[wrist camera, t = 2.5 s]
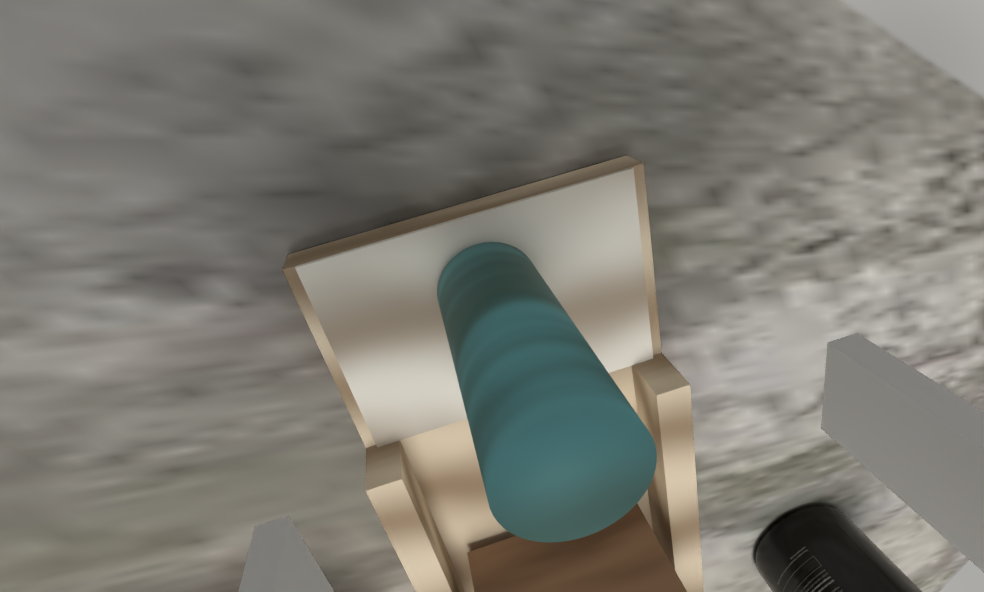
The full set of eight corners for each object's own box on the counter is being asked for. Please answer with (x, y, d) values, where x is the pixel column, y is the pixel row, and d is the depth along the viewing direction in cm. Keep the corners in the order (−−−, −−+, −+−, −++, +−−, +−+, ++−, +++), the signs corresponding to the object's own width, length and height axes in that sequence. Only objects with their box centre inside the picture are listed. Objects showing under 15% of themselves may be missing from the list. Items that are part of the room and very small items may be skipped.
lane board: (287, 254, 21) (256, 340, 15) (626, 155, 22) (718, 200, 16) (459, 629, 33) (478, 754, 27) (670, 554, 34) (731, 660, 28)
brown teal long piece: (358, 279, 20) (349, 482, 11) (590, 210, 20) (758, 348, 11) (497, 629, 31) (548, 870, 22) (645, 576, 31) (752, 791, 22)
